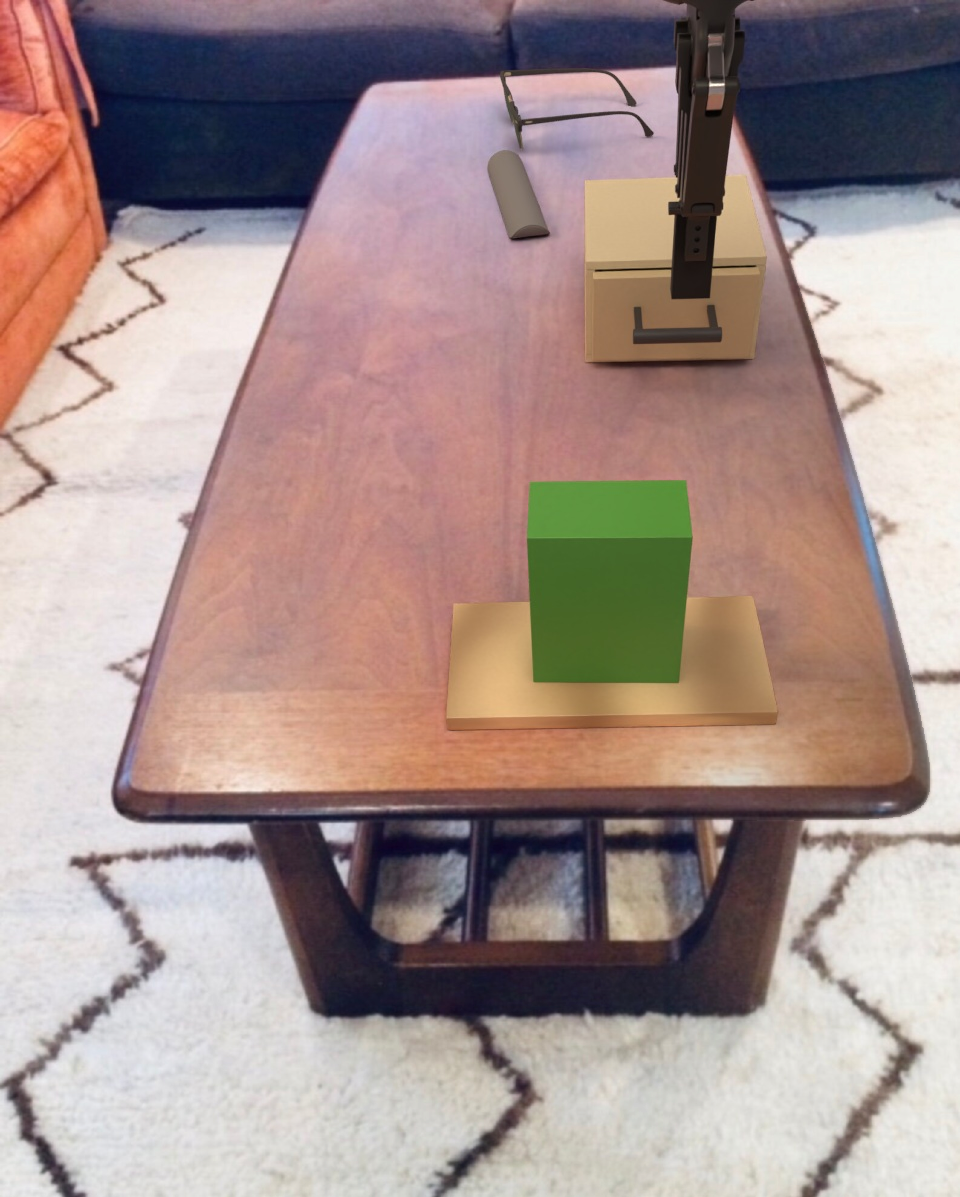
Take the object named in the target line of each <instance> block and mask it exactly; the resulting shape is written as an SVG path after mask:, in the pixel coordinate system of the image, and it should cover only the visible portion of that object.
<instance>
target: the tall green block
mask: <svg viewBox="0 0 960 1197" xmlns="http://www.w3.org/2000/svg"><path fill="white" fill-rule="evenodd" d="M687 484H688V483H687V479H664V480H663V479H658V480H656V479H654V480H651V479H650V480H645V479H643V480H566V481H565V480H563V481H561V480H560V481H559V480H558V481H557V480H555V481H553V480H552V481H550V480H549V481H548V480H547V481H529V485H528V486H529V488H528V504H527V505H528V508H527V523H526V524H527V526H526V550H527V575H528V576H527V577H528V595H529V596H528V597H529V602H530V621H531V643H532V665H533V682H577V683H679V676H680V666H681V655H682V645H683V634H684V624H685V613H686V603H687V598H688V592H689V591H688V590H689V581H690V571H691V570H690V569H691V558H692V548H693V539H694V538H693V536H694V535H693V528H692V518H691V510H690V500H689V492H688V485H687Z"/></svg>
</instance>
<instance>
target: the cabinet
mask: <svg viewBox="0 0 960 1197" xmlns="http://www.w3.org/2000/svg"><path fill="white" fill-rule="evenodd" d="M676 184H677V178H676V176H671V177H644V178H643V177H641V178H638V177H637V178H617V179H616V178H612V179H586V180H584V237H583V238H584V240H583V241H584V245H583V246H584V247H583V248H584V254H583V256H584V257H583V258H584V259H583V260H584V261H583V264H584V266H583V267H584V268H583V270H584V273H583V274H584V276H583V278H584V279H583V281H584V282H583V283H584V287H583V288H584V362H585V363H624V362H625V363H626V362H627V363H628V362H629V363H631V362H672V361H673V362H674V361H677V362H681V361H721V360H722V361H726V360H727V361H728V360H754V359H755V355H756V347H757V340H758V333H759V332H758V331H759V325H760V315H761V308H762V299H763V292H764V286H765V279H766V278H765V276H766V269H767V261H768V255H767V252H766V247H765V243H764V240H763V236H762V232H761V229H760V225H759V224H760V223H759V219H758V216H757V212H756V209H755V208H756V207H755V204H754V200H753V197H752V193H751V189H750V185H749V181H748V177H747V175H746V174H726V178H725V186H724V187H725V196H723V210H722V214H721V215H720V216H717V222H716V234H715V245H714V257H713V266H744V265H747V267H758V268H759V272H760V279H759V287H758V295H757V303H756V311H755V319H754V327H753V335H752V343H751V351H750V357H749V358H706V359H657V360H609V361H593V360H592V303H593V272H598V270H601V269H637V268H672V251H673V234H674V217H675V215H668V202H675V201H679V200H680V198H677V194H676V193H675V185H676Z"/></svg>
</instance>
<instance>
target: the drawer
mask: <svg viewBox="0 0 960 1197" xmlns="http://www.w3.org/2000/svg"><path fill="white" fill-rule="evenodd" d="M759 279H760V272H759V268H758V267H747V265H744V266H713V268H712V280H711V292H710V298H704V299H671V291H670V285H671V268H637V269H601V270H598V272H593V303H592V360H593V361H609V360H657V359H706V358H749V357H750V351H751V343H752V335H753V327H754V319H755V311H756V303H757V295H758V287H759Z"/></svg>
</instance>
